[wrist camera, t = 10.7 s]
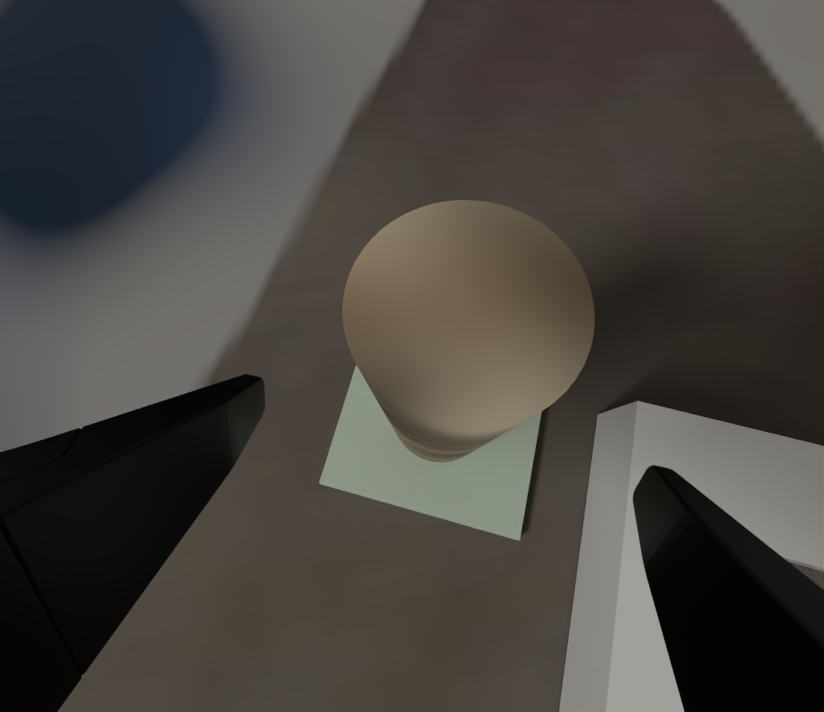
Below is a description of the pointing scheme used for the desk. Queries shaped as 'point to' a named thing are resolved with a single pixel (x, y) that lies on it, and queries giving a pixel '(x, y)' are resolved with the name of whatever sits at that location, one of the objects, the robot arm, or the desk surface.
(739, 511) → the pocket block
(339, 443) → the green pad
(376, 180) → the desk surface
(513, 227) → the wooden peg
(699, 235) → the desk surface
